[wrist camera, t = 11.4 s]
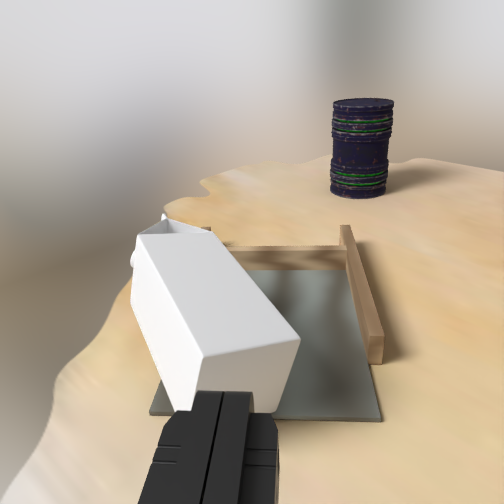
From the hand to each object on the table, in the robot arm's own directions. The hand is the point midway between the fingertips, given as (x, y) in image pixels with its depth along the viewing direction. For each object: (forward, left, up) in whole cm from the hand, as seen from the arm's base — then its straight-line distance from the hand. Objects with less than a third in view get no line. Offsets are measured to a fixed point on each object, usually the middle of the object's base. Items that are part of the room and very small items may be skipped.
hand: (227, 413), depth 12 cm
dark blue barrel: (-13, -65, -16) cm, 69 cm away
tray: (+1, -28, -16) cm, 32 cm away
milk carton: (+1, -12, -11) cm, 16 cm away
